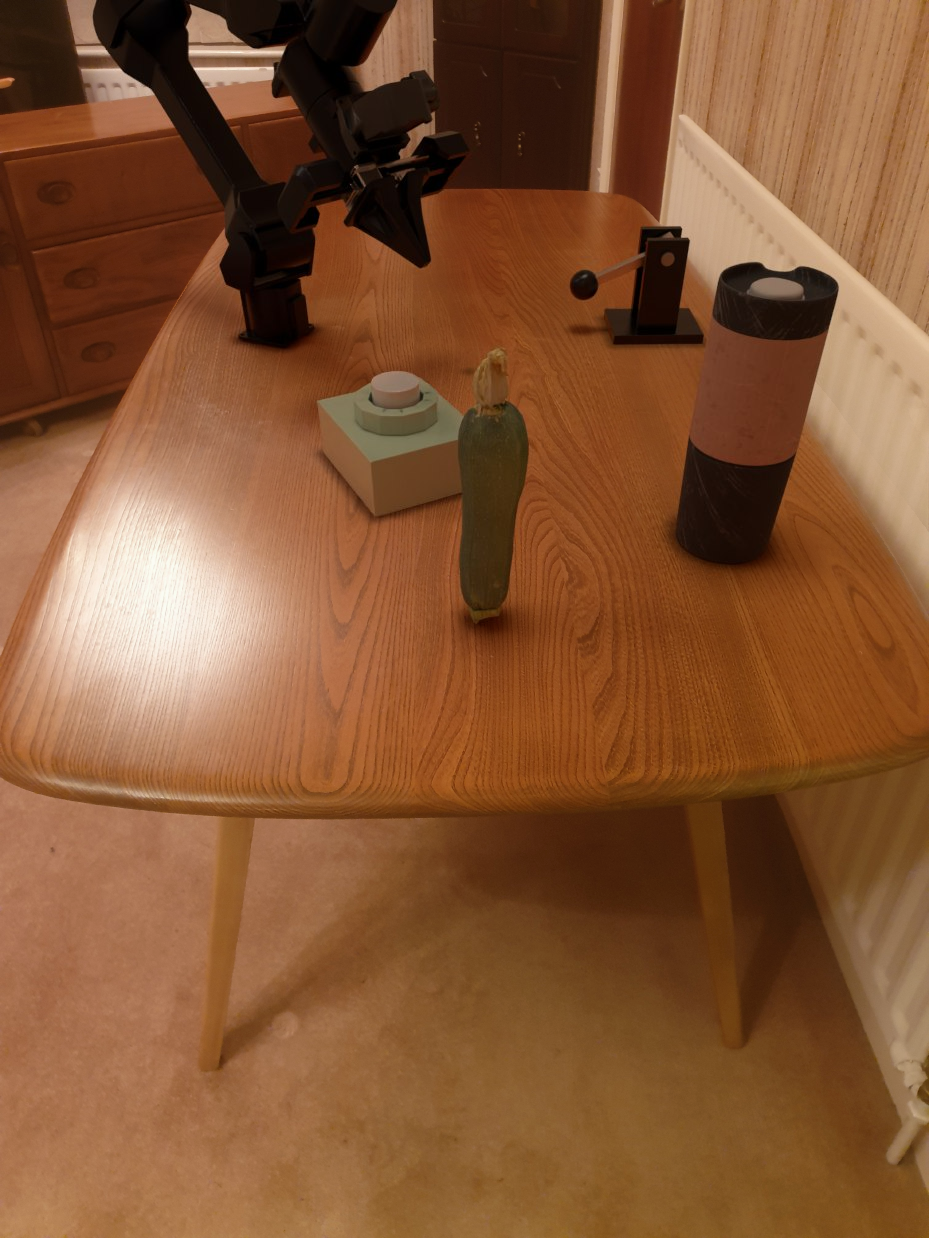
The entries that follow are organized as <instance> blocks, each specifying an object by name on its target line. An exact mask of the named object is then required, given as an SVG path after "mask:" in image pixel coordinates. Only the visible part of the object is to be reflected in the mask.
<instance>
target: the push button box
mask: <svg viewBox="0 0 929 1238" xmlns="http://www.w3.org/2000/svg"><path fill="white" fill-rule="evenodd" d="M418 378H419V382H420V402H419V403H418V404H416V405H415V406H412V407H407V408H403V409H384V408H381V407H377V406H374V404H373V402H372V391H371V382H369V383H366V385H364V386H362V387H361V388H359V389H358V390H357V389H356V391H354V392H349V393H345V394H344V393H343V394H340V395H335V396H331V397H327V398H323V399H318V400H316V403H317V404H316V405H317V411H318V412H317V413H318V421H319V428H320V435H321V443H322V451H323V454H324V455H325V457H326V458H327V460H328V461H329V462H330V463H331V464H332V465H333V467H334V468H335V469H336V470H337V472H338V473H339V474H340V475H341V477H342V478H343V479H344V480H345V482H346V483H347V484H348V485H349V487H350V488H351V489H352V490H353V492H354V493H355V494H356V495H357V496H358V498H359V499H360V500H361V501H362V503H363V504H364V505H365V506H366V508H367V509H368V510H369V511H370V512H371V514H372V515H373V517H375V518H379V517H382V516H385V515H388V514H392V513H395V512H400V511H402V510H403V511H404V510H406V509H410V508H413V507H416V506H420V505H424V504H428V503H430V502H434V501H437V500H441V499H445V498H448V497H451V496H455V495H458V494H462V485H461V478H460V467H459V461H458V433H459V428H460V425H461V422H462V419H463V417H464V416H465V415H464V414H462V413H461V412H460V411H459V410H458V409H457V408H455V407H454V406H453V405H452V404H451V403H450V402H449V401H448V400H446V398H444V397H443V396H442V395H441V394H440V393H439V392H438V390H436V389H435V388H434V387H432V385H431V384H429V383H427V382H426V381H425V380H424V379H423V378H422V377H418Z"/></svg>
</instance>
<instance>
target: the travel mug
mask: <svg viewBox="0 0 929 1238" xmlns="http://www.w3.org/2000/svg"><path fill="white" fill-rule="evenodd" d="M839 287H840V285H839V283H838V281H837V280H836V279H835V278H834V277H833V276H832V275H830V274H828V273H826V272H825V271H822V270H819V269H817V268H815V267H814V268H813V267H810V266H806V265H799V266H797V267H795V268H794V269H792V270H787V271H786V270H785V271H784V270H783V271H780V270H773V269H770V268H767V267H766V266H765V265H764V264H763V263H762V262H760V261H748V262H742V263H738V264H734V265H730V266H729V267H726V268H725V269H723V271H721V273H720V274H719V277H718V280H717V285H716V291H715V295H714V301H713V306H712V312H711V317H710V322H709V327H708V333H707V337H706V342H705V347H704V352H703V358H702V364H701V370H700V373H699V380H698V384H697V388H696V389H697V390H696V395H695V400H694V406H693V411H692V417H691V421H690V425H689V433H688V439H687V447H686V453H685V459H684V465H683V473H682V480H681V487H680V495H679V500H678V501H679V503H678V507H677V508H678V509H677V516H676V524H675V536H676V537H675V538H676V539H677V541H678V543H679V544H680V545H681V547H682V548H683V549H684V550H686V551H687V552H688V553H691V554H692V555H694V556H696V557H698V558H701V559H702V560H706V561H709V562H714V563H719V564H742V563H747V562H750V561H753V560H756V559H757V558H759V557H760V556H762V555H763V553H764V552H765V551H766V550H767V547H768V545H769V542H770V539H771V536H772V532H773V530H774V527H775V524H776V519H777V517H778V513H779V511H780V507H781V504H782V501H783V497H784V494H785V491H786V487H787V485H788V482H789V478H790V475H791V472H792V468H793V466H794V463H795V459H796V456H797V453H798V452H797V451H798V449H799V445H800V442H801V438H802V434H803V430H804V427H805V422H806V419H807V415H808V411H809V406H810V403H811V399H812V395H813V391H814V387H815V384H816V381H817V377H818V373H819V370H820V369H819V368H820V365H821V361H822V356H823V353H824V349H825V346H826V342H827V339H828V334H829V330H830V326H831V323H832V319H833V315H834V312H835V307H836V303H837V299H838V296H839V291H840V290H839V289H840V288H839Z"/></svg>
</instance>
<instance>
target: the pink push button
mask: <svg viewBox="0 0 929 1238" xmlns="http://www.w3.org/2000/svg"><path fill="white" fill-rule="evenodd" d="M370 383H371V391H372V402H373V404H374V406H377V407H381V408H384V409H403V408H407V407H412V406H415V405H416V404H418V403H419V402H420V382H419V377H418V376H417V375H416V374H414V373H412V372H408V371H403V370H392V371H384V372H382V373H378V374H377V375H375V376H373V378H372V379H371V381H370Z"/></svg>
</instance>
